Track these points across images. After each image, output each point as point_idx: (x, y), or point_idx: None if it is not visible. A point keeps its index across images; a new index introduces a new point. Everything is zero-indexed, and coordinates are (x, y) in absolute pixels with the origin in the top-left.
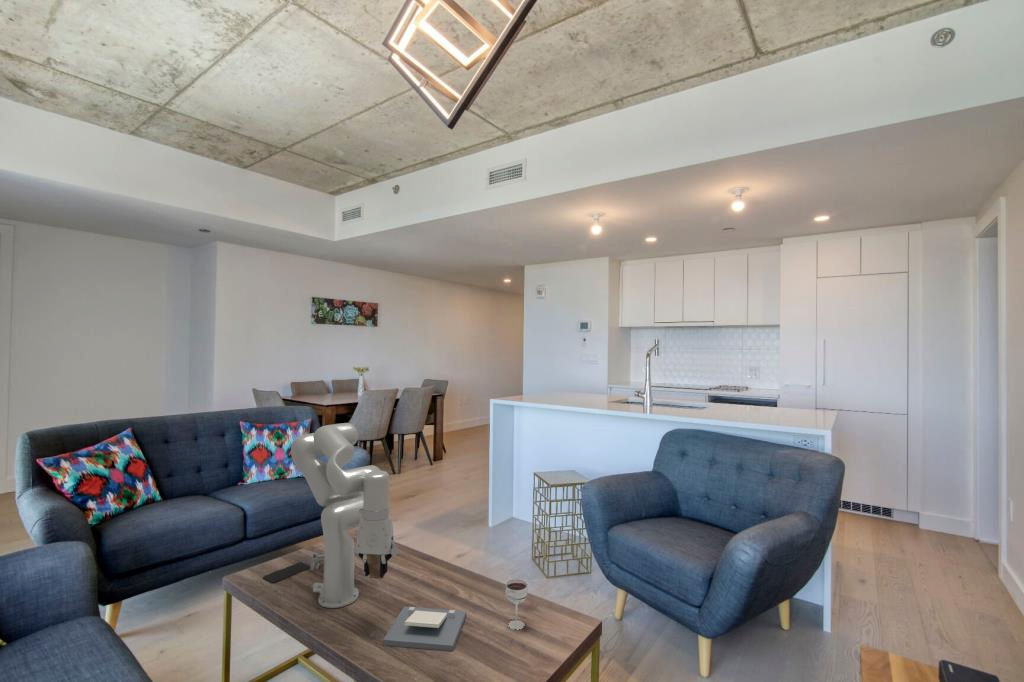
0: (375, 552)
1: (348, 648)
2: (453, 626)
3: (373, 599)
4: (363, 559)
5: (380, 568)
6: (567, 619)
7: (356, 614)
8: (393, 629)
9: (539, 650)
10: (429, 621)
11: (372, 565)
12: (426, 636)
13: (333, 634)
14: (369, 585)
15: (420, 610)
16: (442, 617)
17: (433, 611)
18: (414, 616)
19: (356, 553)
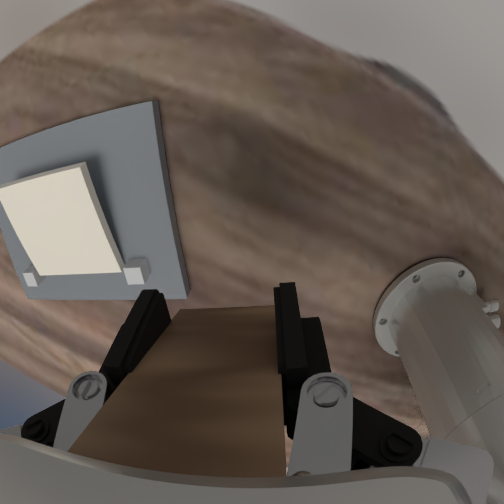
0: (85, 491)
1: (272, 53)
2: (13, 231)
3: (321, 326)
4: (342, 404)
5: (136, 338)
6: None
7: (343, 245)
8: (147, 166)
9: None
10: (25, 200)
11: (227, 363)
12: (40, 165)
13: (369, 121)
14: (358, 375)
15: (124, 286)
16: (23, 241)
17: (88, 287)
18: (86, 223)
19: (446, 442)
